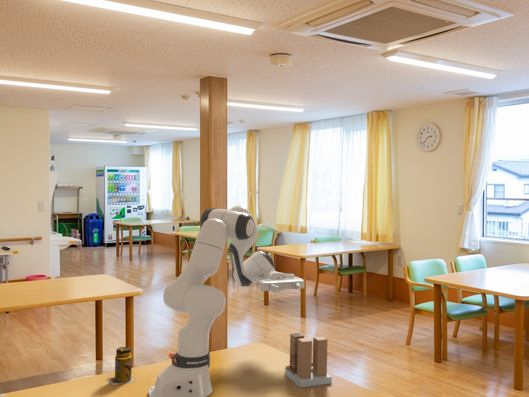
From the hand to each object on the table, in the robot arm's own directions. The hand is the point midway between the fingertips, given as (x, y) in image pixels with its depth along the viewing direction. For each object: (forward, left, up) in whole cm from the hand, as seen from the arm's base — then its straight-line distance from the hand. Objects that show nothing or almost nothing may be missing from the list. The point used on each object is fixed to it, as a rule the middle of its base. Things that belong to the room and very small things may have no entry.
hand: (288, 288), depth 210 cm
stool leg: (-2, -14, -29) cm, 33 cm away
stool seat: (+1, -18, -32) cm, 36 cm away
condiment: (-67, +4, -32) cm, 74 cm away
